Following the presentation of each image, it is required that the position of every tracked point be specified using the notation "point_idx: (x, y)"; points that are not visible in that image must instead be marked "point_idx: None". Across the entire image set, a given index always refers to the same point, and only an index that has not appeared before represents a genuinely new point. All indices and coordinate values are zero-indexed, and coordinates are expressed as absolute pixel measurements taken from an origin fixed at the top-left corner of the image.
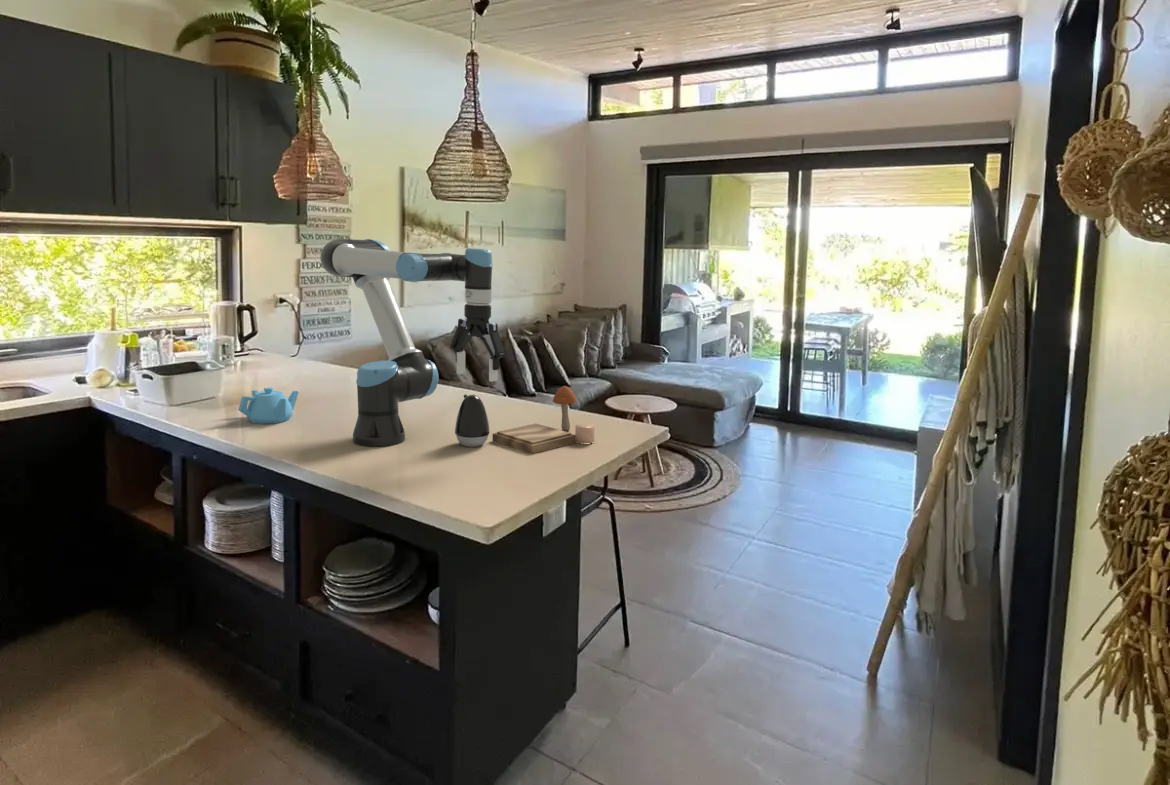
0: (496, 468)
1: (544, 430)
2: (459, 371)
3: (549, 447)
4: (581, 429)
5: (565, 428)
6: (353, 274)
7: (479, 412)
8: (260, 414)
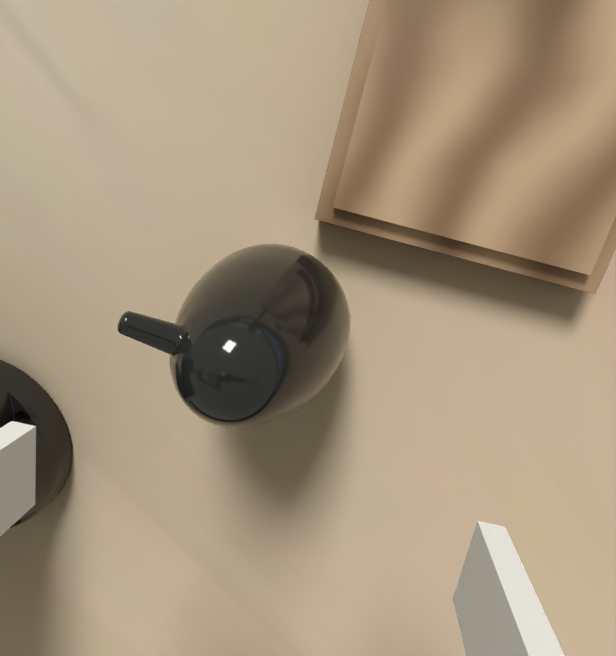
0: (538, 509)
1: (539, 22)
2: (16, 509)
3: None
4: None
5: None
6: None
7: (315, 382)
8: None
